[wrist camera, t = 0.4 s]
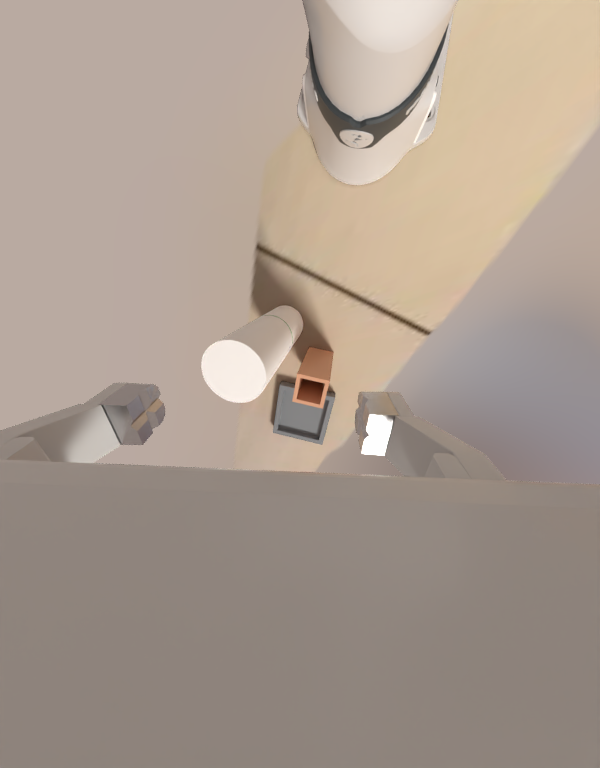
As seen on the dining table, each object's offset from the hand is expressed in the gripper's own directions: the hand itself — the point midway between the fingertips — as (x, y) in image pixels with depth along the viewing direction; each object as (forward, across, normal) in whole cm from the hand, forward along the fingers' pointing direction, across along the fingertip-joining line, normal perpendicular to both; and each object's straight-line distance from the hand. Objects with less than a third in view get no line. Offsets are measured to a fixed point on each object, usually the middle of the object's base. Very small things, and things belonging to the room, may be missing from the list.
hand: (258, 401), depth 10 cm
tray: (+37, -2, +28) cm, 46 cm away
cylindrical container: (+39, +2, +8) cm, 40 cm away
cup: (+37, -4, +15) cm, 40 cm away
